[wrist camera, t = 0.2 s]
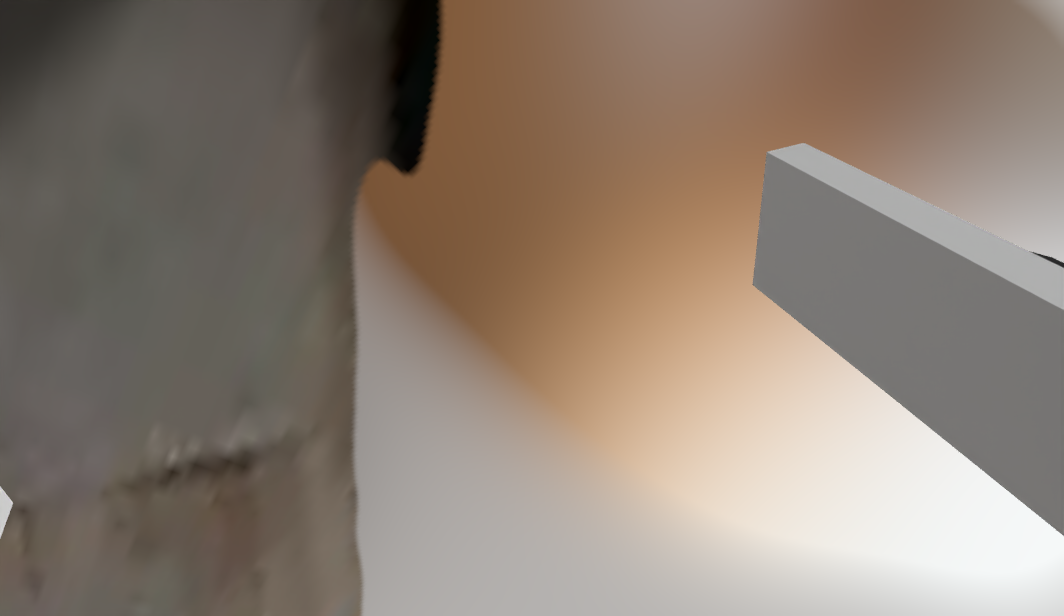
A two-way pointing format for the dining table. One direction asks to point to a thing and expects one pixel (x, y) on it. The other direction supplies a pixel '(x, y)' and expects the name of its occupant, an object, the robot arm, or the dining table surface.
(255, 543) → the dining table surface
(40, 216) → the dining table surface
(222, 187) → the dining table surface
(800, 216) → the robot arm
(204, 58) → the dining table surface
